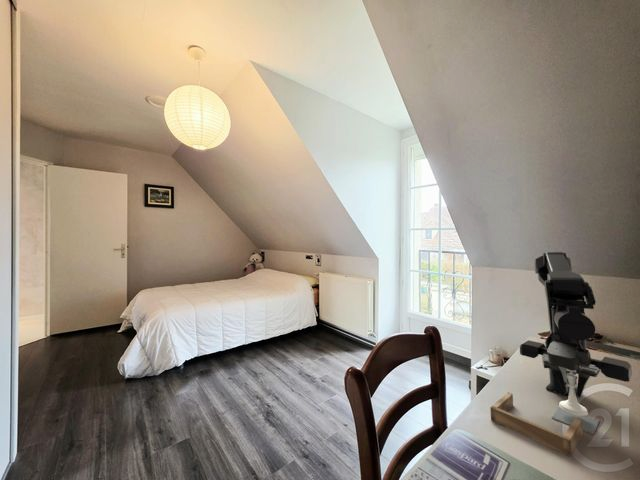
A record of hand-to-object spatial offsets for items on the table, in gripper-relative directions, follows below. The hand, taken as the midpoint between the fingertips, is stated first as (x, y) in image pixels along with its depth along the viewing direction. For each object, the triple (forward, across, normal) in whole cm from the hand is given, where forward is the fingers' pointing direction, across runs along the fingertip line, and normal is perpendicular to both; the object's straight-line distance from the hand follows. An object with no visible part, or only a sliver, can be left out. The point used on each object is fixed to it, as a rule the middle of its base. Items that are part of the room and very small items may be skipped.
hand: (572, 394), depth 62 cm
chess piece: (+4, 0, 0) cm, 4 cm away
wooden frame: (+6, -5, -10) cm, 13 cm away
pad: (+6, 0, 0) cm, 6 cm away
